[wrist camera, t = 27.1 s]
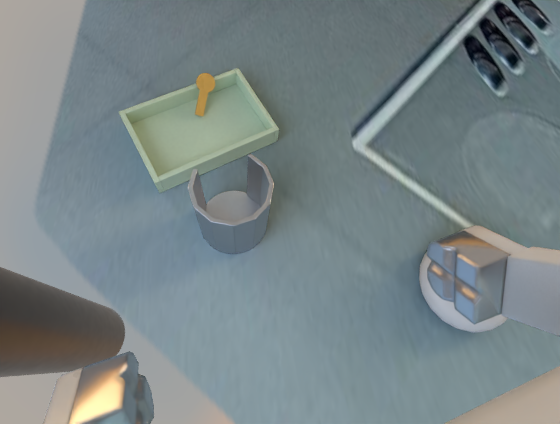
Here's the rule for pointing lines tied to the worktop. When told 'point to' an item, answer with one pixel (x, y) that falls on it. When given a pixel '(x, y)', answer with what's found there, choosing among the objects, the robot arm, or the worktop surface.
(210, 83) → the key
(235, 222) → the steel cup
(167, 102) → the tray
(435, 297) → the donut
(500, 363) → the worktop surface
